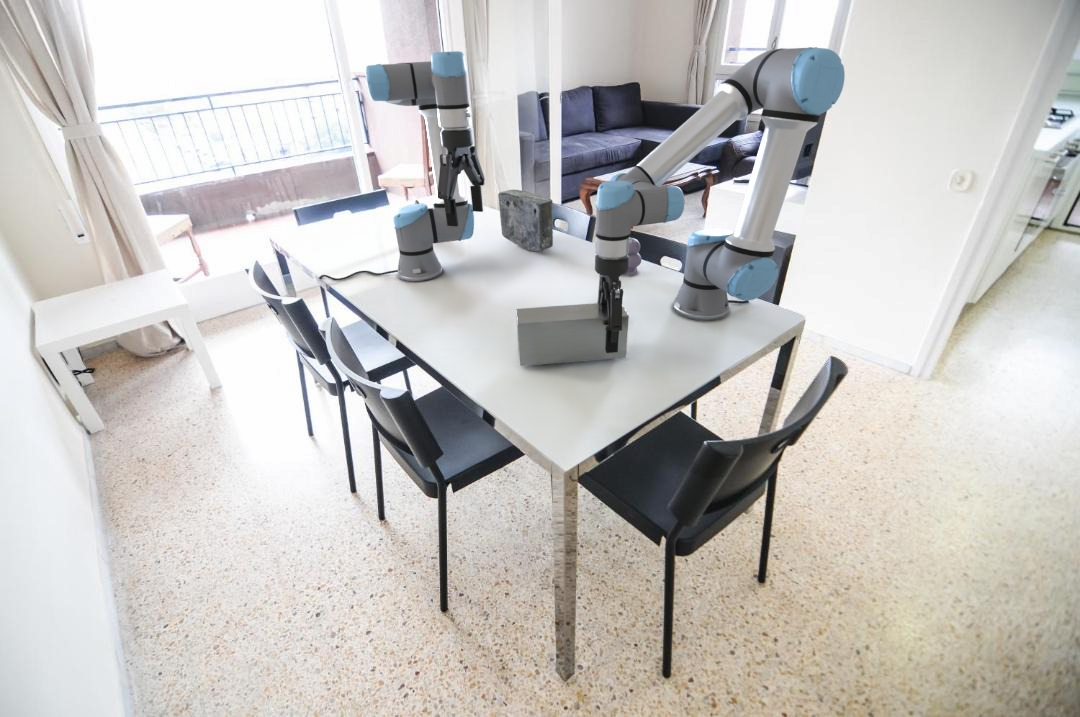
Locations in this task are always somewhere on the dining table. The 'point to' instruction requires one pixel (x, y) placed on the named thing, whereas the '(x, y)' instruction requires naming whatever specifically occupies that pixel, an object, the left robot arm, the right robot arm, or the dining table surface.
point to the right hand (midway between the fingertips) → (607, 342)
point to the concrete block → (526, 219)
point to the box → (566, 334)
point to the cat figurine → (633, 258)
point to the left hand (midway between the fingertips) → (465, 218)
